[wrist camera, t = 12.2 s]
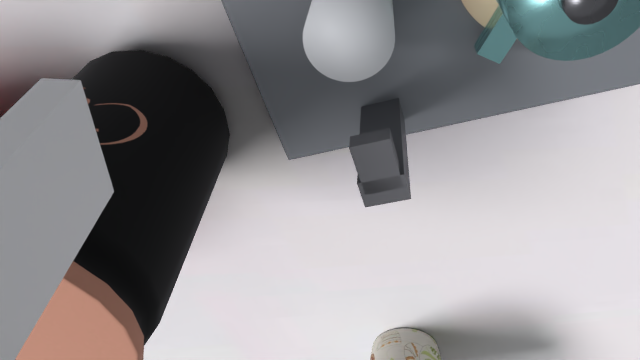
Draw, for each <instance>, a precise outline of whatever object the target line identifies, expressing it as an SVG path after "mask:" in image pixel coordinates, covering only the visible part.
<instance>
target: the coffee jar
mask: <svg viewBox="0 0 640 360" xmlns="http://www.w3.org/2000/svg"><path fill="white" fill-rule="evenodd" d="M72 80H81V83H82V86H83V90H84V93H85V96H86V100H87V103H88V106H89V110H90V113H91V116H92V120H93V123H94V126H95V130H96V133H97V136H98V140H99V143H100V146H101V150H102V153H103V156H104V159H105V163H106V166H107V169H108V173H109V176H110V179H111V183H112V186H113V189H114V193H113V194H112V196H111V198H110V199H109V201H108V203H107V204H106V206H105V208H104V210H103V211H102V213H101V215H100V216H99V218H98V220H97V221H96V223H95V225H94V226H93V228H92V230H91V232H90V233H89V235H88V237H87V238H86V240H85V242H84V243H83V245H82V247H81V248H80V250H79V252H78V254H77V255H76V257H75V259H74V260H73V262H72V264H71V265H70V267H69V269H68V270H67V272H66V274H65V276H64V277H63V279H62V281H61V282H60V284H59V286H58V287H57V289H56V291H55V292H54V294H53V296H52V298H51V299H50V301H49V303H48V304H47V306H46V308H45V309H44V311H43V313H42V315H41V316H40V318H39V320H38V321H37V323H36V325H35V326H34V328H33V330H32V331H31V333H30V335H29V337H28V338H27V340H26V342H25V343H24V345H23V347H22V348H21V350H20V352H19V353H18V355H17V357H16V359H15V360H143V352H144V345H145V343H146V342H147V341H148V339H149V338H150V336H151V335H152V333H153V332H154V330H155V329H156V327H157V326H158V324H159V323H160V321H161V318H162V316H163V313H164V311H165V308H166V306H167V303H168V301H169V298H170V296H171V293H172V291H173V288H174V286H175V283H176V281H177V278H178V276H179V273H180V271H181V268H182V266H183V263H184V261H185V258H186V256H187V253H188V251H189V248H190V246H191V243H192V241H193V238H194V236H195V233H196V231H197V228H198V226H199V223H200V221H201V218H202V216H203V213H204V211H205V208H206V206H207V203H208V201H209V198H210V196H211V193H212V191H213V188H214V186H215V183H216V181H217V178H218V176H219V173H220V171H221V168H222V166H223V163H224V161H225V158H226V156H227V150H228V143H229V136H230V134H229V129H228V125H227V121H226V116H225V112H224V109H223V108H222V106H221V104H220V102H219V101H218V99H217V97H216V96H215V94H214V92H213V91H212V89H211V88H210V87H209V86H208V85H207V84H206V83H205V82H204V81H203V80H202V79H201V78H200V77H199V76H198V75H197V74H195V73H194V72H193V71H192V70H191V69H189V68H187V67H185V66H184V65H182V64H180V63H178V62H176V61H175V60H173V59H171V58H169V57H167V56H162V55H158V54H154V53H150V52H146V51H142V50H138V51H119V52H111V53H108V54H106V55H104V56H101V57H99V58H97V59H94V60H92V61H90V62H89V63H88V64H87V65H86V66H85V67H84V68H83V69H82V70H81V71H80V72H79V73H78V74H77V75H76V76H75V77H74V78H73V79H72Z"/></svg>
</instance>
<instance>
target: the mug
mask: <svg viewBox="0 0 640 360" xmlns="http://www.w3.org/2000/svg"><path fill="white" fill-rule="evenodd" d="M370 360H441V356H440V352H439V349H438V346H437V343H436V341H435V340H434V339H433V338H432V337H431V336H430V335H428V334H427V333H425V332H422V331H419V330H416V329H410V328H399V329H393V330H389V331H387V332H384V333H383V334H381V335H380V336H378V337H377V338H376V340H375V341H374V343H373V346H372V351H371V357H370Z"/></svg>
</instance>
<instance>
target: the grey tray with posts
mask: <svg viewBox="0 0 640 360" xmlns="http://www.w3.org/2000/svg"><path fill="white" fill-rule="evenodd" d="M221 1H222V3H223V6H224V8H225V10H226V13H227V15H228V17H229V20H230V22H231V24H232V27H233V29H234V32H235V34H236V36H237V39H238V41H239V43H240V46H241V48H242V51H243V53H244V55H245V58H246V60H247V62H248V65H249V67H250V69H251V72H252V74H253V77H254V79H255V81H256V84H257V86H258V88H259V91H260V93H261V95H262V98H263V100H264V103H265V105H266V107H267V110H268V112H269V114H270V117H271V119H272V122H273V124H274V126H275V129H276V131H277V133H278V136H279V138H280V140H281V143H282V145H283V148H284V150H285V152H286V155H287V157H288V159H289V160H291V159H296V158H300V157H305V156H309V155H314V154H319V153H323V152H328V151H333V150H337V149H342V148H346V147H349V149H350V152H351V155H352V158H353V160H354V163H355V166H356V169H357V172H358V178H357V184H358V187H359V190H360V193H361V196H362V199H363V202H364V205H365V207H370V206H375V205H380V204H386V203H391V202H397V201H402V200H407V199H411V194H410V181H409V169H408V157H407V144H406V134H411V133H416V132H420V131H425V130H430V129H434V128H439V127H443V126H448V125H453V124H457V123H462V122H466V121H471V120H476V119H480V118H485V117H490V116H494V115H499V114H503V113H508V112H513V111H517V110H522V109H527V108H531V107H536V106H540V105H545V104H550V103H554V102H559V101H563V100H568V99H573V98H577V97H582V96H587V95H591V94H596V93H600V92H605V91H610V90H614V89H619V88H624V87H628V86H633V85H637V84H640V27H639V28H638V29H637V30H636V31H635V32H634V33H633V34H632V35H630V36H629V37H628V38H627V39H625V40H624V41H623V42H621V43H620V44H618V45H616V46H615V47H613V48H612V49H610V50H607V51H605V52H603V53H601V54H598V55H596V56H593V57H589V58H585V59H580V60H573V61H561V60H553V59H548V58H545V57H542V56H539V55H537V54H535V53H533V52H531V51H530V50H529V49H527V48H526V47H525V46H524V45H523V44H522V43H521V42H520V41H519V40H518V39H516V41H515V42H514V44H513V45H512V47H511V48H510V50H509V51H508V53H507V54H506V56H505V57H504V59H503V60H502V61H501V63H500V64H498V63H496V62H494V61H492V60H489V59H487V58H485V57H483V56H480V55H478V54H477V53H476V50H475V47H474V44H475V42H476V41H477V39H478V38H479V36H480V34H481V33H482V31H483V30H484V28H485V26H486V25H487V23H488V22H489V20H490V18H491V17H492V15H493V14H494V12H495V10H496V9H497V7H498V6H499V5H498V3H497V1H496V0H221Z"/></svg>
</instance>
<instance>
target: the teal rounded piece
mask: <svg viewBox="0 0 640 360" xmlns="http://www.w3.org/2000/svg"><path fill="white" fill-rule="evenodd" d="M496 1H497V3H498V5H499V6H498V7H497V9H496V10H495V12H494V14H493V15H492V17H491V18H490V20H489V22H488V23H487V25H486V26H485V28H484V30H483V31H482V33H481V34H480V36H479V38H478V39H477V41H476V42H475V44H474V47H475V50H476V53H477V54H478V55H480V56H483V57H485V58H487V59H489V60H492V61H494V62H496V63H498V64H500V63H501V61H502V60H503V59H504V57H505V56H506V54H507V53H508V51H509V50H510V48H511V47H512V45H513V44H514V42H515V41H516V39H518V40H519V41H520V42H521V43H522V44H523V45H524V46H525V47H526V48H527V49H529V50H530V51H531V52H533V53H535V54H537V55H539V56H542V57H545V58H548V59H553V60H561V61H573V60H580V59H585V58H589V57H593V56H596V55H598V54H601V53H603V52H605V51H607V50H610V49H612V48H613V47H615V46H616V45H618V44H620V43H621V42H623V41H624V40H625V39H627V38H628V37H629V36H630V35H632V34H633V33H634V32H635V31H636V30H637V29H638V28H639V27H640V0H496Z"/></svg>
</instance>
